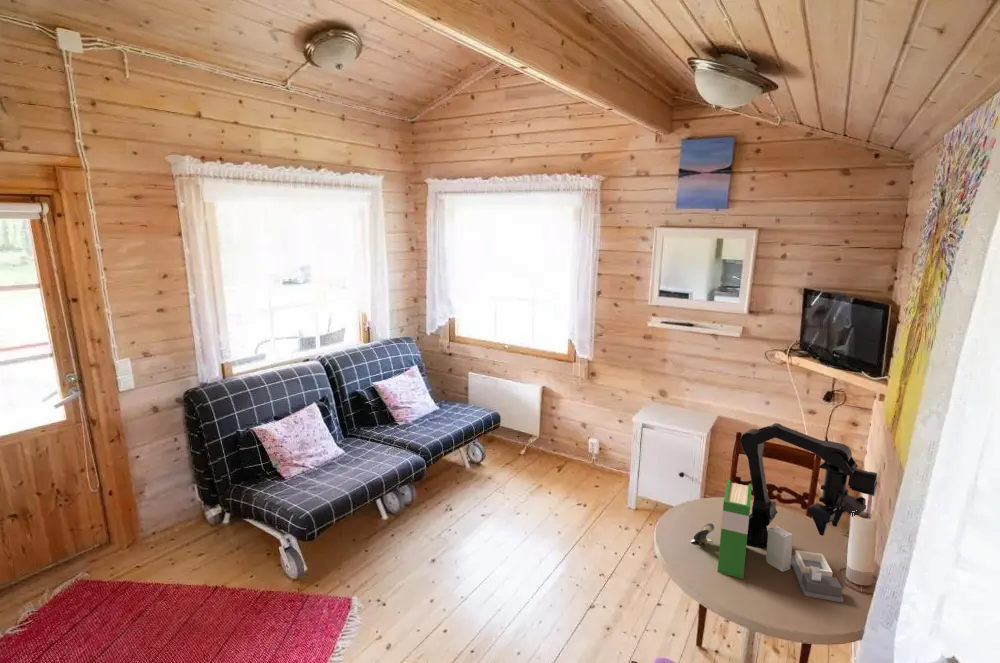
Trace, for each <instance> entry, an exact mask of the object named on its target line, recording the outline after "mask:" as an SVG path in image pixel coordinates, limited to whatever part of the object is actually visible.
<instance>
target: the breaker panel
mask: <svg viewBox="0 0 1000 663" xmlns="http://www.w3.org/2000/svg"><path fill="white" fill-rule="evenodd" d="M791 566H792V569H793V572H794V574H795V577H796V579H797V581H798V584H799V586H800V589H801V591H802V593H803V596H804V597H808V598H809V597H810V598H816V599H820V600H826V601H833V602H839V603H844V597H843V596H842V592H843V587H842V585H841V583H840V582H839V579H838V578H837V577H836V576H835V577H833V571H832V568H831V567H830V565H829V563H828V562H827V560H826V558H825V555H824V554H823V553H817V552H811V551H805V550H797V549H795V550H794V554H791ZM810 566H812V567H819V569H820V571H821V573H822V575H821V582H817V581H812V580H811V578H810V576H809V568H810Z"/></svg>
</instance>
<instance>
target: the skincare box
mask: <svg viewBox="0 0 1000 663" xmlns="http://www.w3.org/2000/svg"><path fill="white" fill-rule="evenodd" d="M767 530H768V540H767V544H766V545H767V548H766V555H765V562H766V563H768V564H769V565H770V566H772V567H773V568H775V569H777V570H779V571H780V572H786V571H789V570H790V569H791V566H792V564H791V555H792V552H793V551H792V550H793V549H792V548H793V537H794V534H793V533H791V532H789V531H786V530H785V529H783V528H781V527H779V526H777V525H775V526H772V527H769V528H767Z"/></svg>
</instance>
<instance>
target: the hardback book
mask: <svg viewBox="0 0 1000 663" xmlns="http://www.w3.org/2000/svg"><path fill="white" fill-rule="evenodd" d="M726 482H727V483H726V487H725V491H724V496H723V497H724V499H723V504H722V516H721V517H722V518H721V519H722V520H721V528H720V539H719V552H718V561H717V562H718V563H717V573H720V574H723V575H726V576H731V577H735V578H737V579H742V580H744V574H745V562H746V554H747V545H746V544H747V534H748V524H749V515H750V514H751V513H750V511H751V502H752V500H751V498H752V490H753V489H752V483H748V485H745V484H741V483H736V482H731V479H728V478H727V480H726Z"/></svg>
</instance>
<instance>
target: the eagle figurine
mask: <svg viewBox="0 0 1000 663" xmlns="http://www.w3.org/2000/svg"><path fill="white" fill-rule="evenodd" d="M714 530H715V524H713V523H707V524H705V525H704V526H703V527H702V528H701V530H700V531H698V532H696V533H695V535H694V536H693V538H692V539H691V541H690V543H694V542H698V546H699V547H700V548H702V547H703V546H705V544H706V543H707V544H708V543H714V541H713V540H712V539H709V538H707V535H708V534H710V533H711V532H713V531H714ZM699 547H696V549H698V548H699Z"/></svg>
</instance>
